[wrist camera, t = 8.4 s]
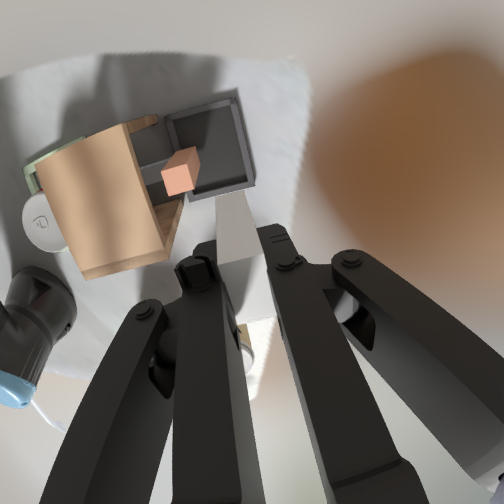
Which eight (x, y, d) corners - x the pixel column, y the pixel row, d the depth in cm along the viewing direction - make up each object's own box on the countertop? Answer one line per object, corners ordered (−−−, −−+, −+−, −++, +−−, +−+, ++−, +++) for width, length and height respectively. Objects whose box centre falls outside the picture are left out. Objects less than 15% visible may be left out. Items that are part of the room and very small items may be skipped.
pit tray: (190, 199, 39) (189, 202, 38) (165, 115, 33) (164, 116, 32) (254, 183, 39) (255, 185, 38) (234, 97, 33) (235, 97, 32)
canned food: (52, 182, 35) (12, 211, 25) (91, 156, 34) (53, 179, 25) (75, 224, 39) (42, 262, 29) (114, 203, 38) (85, 238, 28)
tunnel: (120, 224, 40) (85, 280, 27) (89, 139, 33) (34, 164, 21) (183, 206, 39) (168, 259, 27) (155, 113, 33) (121, 123, 20)
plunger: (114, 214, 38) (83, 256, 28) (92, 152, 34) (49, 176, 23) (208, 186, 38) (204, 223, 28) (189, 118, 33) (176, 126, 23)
